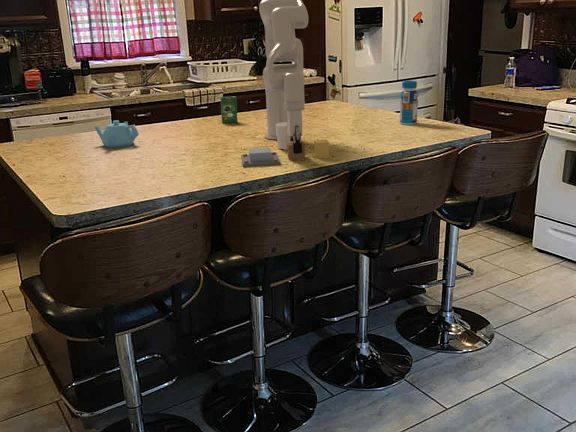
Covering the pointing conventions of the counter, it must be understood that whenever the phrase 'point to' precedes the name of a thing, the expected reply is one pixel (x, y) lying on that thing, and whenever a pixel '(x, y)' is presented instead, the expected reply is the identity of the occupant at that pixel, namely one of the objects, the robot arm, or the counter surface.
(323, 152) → the mustard brick
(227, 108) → the coffee box
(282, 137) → the white cup
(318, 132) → the counter surface
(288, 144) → the walnut brick
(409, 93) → the blue capped bottle
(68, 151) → the counter surface
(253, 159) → the build plate
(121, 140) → the teapot
